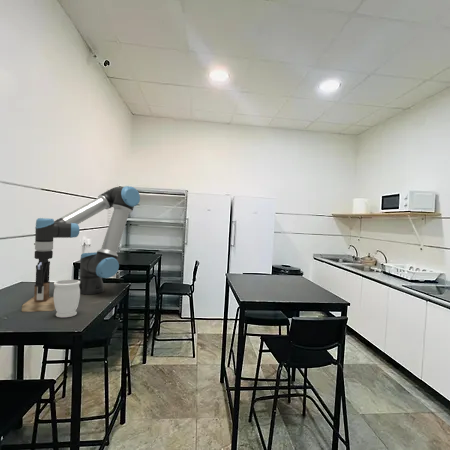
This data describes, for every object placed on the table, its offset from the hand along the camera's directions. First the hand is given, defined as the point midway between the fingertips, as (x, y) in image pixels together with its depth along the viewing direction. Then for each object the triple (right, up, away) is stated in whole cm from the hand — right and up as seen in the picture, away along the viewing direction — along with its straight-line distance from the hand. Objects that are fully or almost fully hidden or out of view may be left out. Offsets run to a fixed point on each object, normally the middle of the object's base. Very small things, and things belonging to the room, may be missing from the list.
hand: (41, 298), depth 147 cm
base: (0, -4, 0) cm, 4 cm away
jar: (+17, -5, -10) cm, 20 cm away
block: (0, -1, 0) cm, 1 cm away
